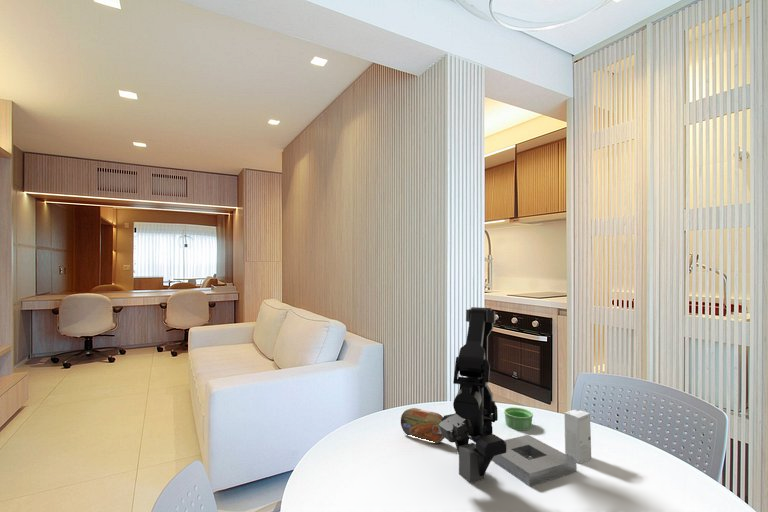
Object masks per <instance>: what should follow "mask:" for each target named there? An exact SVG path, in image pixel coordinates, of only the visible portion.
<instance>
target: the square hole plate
mask: <svg viewBox="0 0 768 512" xmlns="http://www.w3.org/2000/svg"><path fill="white" fill-rule="evenodd" d="M503 440H504V441H505V442H506V453H504V454H500V455H496V456H494V457H493V458H492V460H491V462H493V463H494V464H496V465H498V466H500V468H502V469H504V470H505V471H506V472H507V473H508V474H511V475H512V476H514V477H515V478H516V479H518V480H520V481H521V482H522V483H524V484H525V485H526V486H528V487H533V486H536V485H540V484H542V483H546V482H548V481H553V480H555V479H559V478H562V477H565V476H567V475H568V476H569V475H572V474H575V473H577V472H578V471H577V462H576V460H575V459H573V458H572V457H570V456H568V455H566V454H565V452H564V453H563V452H562V451H560V450H558V449H557V448H554V447H553V446H551V445H548V444H547V443H545V442H543V441H541V440H539V439H537V438H535V437H533V436H531V435H529V434H526V435H522V436H517V437H513V438H508V439H503ZM526 457H530V458H531V459H528V458H526Z"/></svg>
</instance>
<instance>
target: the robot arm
mask: <svg viewBox="0 0 768 512" xmlns="http://www.w3.org/2000/svg"><path fill="white" fill-rule="evenodd" d="M465 322H467V323H468V329H467V335H466V341H465V344H464V345H463V346H461V347H460V349H459V353H458V356H456V357H455V363H454V372H453V373H454V375H453V385H459V389H458V392H457V393H456V396H455V397H454V400H453V403H452V404H453V409H454V412H455V413H452V414H446V415H443V416H442V417H443V418H442V422H440V423H439V427H440V430H441V433H442V436H443V437H444V439H446V440H447V441H448V442H449V443H454V445H455V447H456V451H457V455H458V456H459V446H461V445H465V444H469V441H470V440H472V441H473V442H475V444H476V448H477V449H473V451H474V452H475V453H476V454H477V457H478V471H479V476H483V475H484V474H485V473H486V472H487V470H488V467H489V465H490V464H491V462H492V458H493V457H494V456H496V455H500V454H504V453H506V442H505V441H504V440H505V439H503V438H501V437H499V436H497V435H496V434H494V433H493V423H495V422H496V421H498V420H499V419H498V418H499V417H498V416H499V415H498V414H499V413H498V406H497V404H496V401H495V400H494V397H493V396H494V394H493V392H492V390H491V389H490V387H489V385H488V384H489V383H490V372H491V364H490V363H489V360H488V359H489V358H488V357H489V355H488V354H489V335H490V334H491V332H492V331H493V329H494V324H496V311H495V310H492V307H477V306H474V307H470V308H469V309H466V310H465ZM459 375H460V376H459Z"/></svg>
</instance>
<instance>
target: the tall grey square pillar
mask: <svg viewBox="0 0 768 512" xmlns="http://www.w3.org/2000/svg"><path fill="white" fill-rule="evenodd" d="M473 449H477V448H476V443H474V442H471V443H468V444H465V445H461V446H459V455H458V475H459V476H461V477H462V478H463V479H464V480H465V481H466V482H467V483H468V484H473V483H477V482H482V481H485V478H486V477H485V474H484V475H483V476H479V471H478V457H477V454H476V453H475V452H474V451H473Z"/></svg>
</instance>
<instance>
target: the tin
mask: <svg viewBox="0 0 768 512" xmlns="http://www.w3.org/2000/svg"><path fill="white" fill-rule="evenodd" d="M443 417H444V416H443V415H441V414H440V413H438V412H435V411H430V410H425V409H421V408H418V407H417V408H416V407H412V408H411V407H410V408H409V409H406V410H404V412H403V413H402V414H401V415H400V426H401V429H402V431H403V433H404V434H405V435H406V434H407V435H406V436H408V435H412V436H415V437H418V438H421V439H426V440H429V441H433V442H435V443H436V444H439V443H441V442H442V441H443V440H444V439H445V438H444V437H443V436H442V433H441V430H440V427H439V423H440V422H442V418H443Z"/></svg>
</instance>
